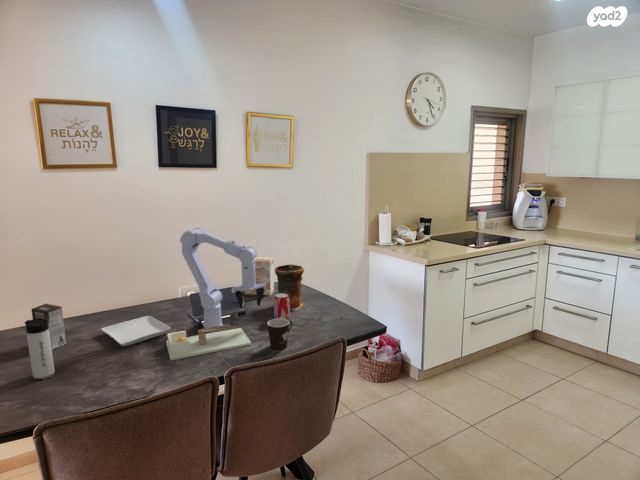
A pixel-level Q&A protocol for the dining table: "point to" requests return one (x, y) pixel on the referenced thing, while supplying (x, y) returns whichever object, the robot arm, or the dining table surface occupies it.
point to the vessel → (290, 283)
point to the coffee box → (52, 322)
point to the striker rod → (218, 328)
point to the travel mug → (40, 348)
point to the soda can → (281, 306)
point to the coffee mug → (278, 333)
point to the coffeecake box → (264, 275)
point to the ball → (181, 339)
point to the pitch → (214, 343)
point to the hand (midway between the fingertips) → (249, 306)
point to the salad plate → (136, 330)
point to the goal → (178, 343)
